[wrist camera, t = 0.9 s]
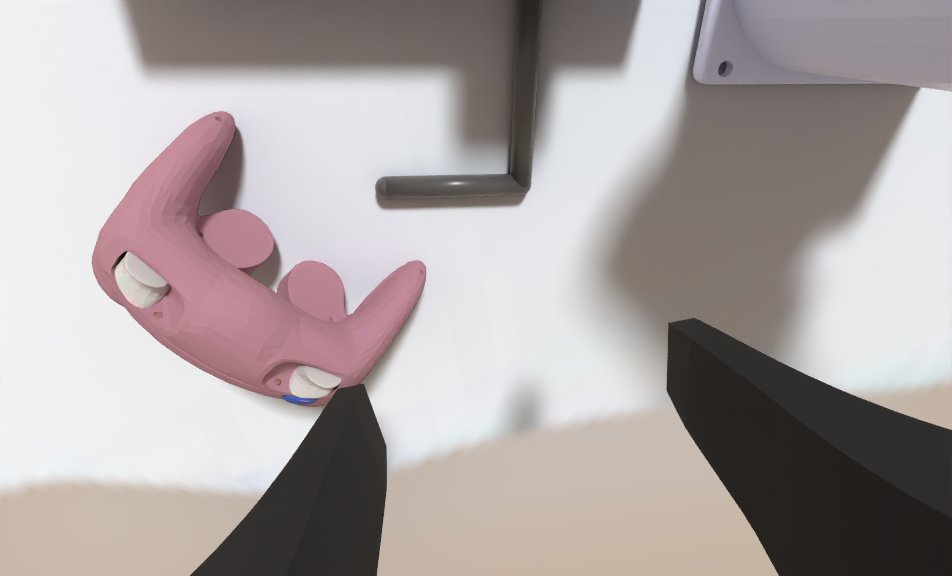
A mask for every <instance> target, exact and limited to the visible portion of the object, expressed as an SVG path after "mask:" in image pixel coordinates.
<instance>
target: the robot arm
mask: <svg viewBox="0 0 952 576" xmlns="http://www.w3.org/2000/svg"><path fill="white" fill-rule="evenodd" d="M724 61H725V62H726V64H727V68H726V70H725V72H724V73H723V74H722V75H719V74H718V68H719V66H720V64H721V63H723V62H724ZM693 75H694V78H695V80H697V81H698V82H699V83H704V84H899V85H907V86H915V87H923V88H930V89H938V90H946V91H952V0H707V1H706V6H705V11H704V16H703V21H702V26H701V31H700V36H699V41H698V47H697V52H696V57H695V62H694V67H693ZM667 392H668V394H669V396H670V398H671V400H672V402H673V404H674V406H675V408H676V411H677V412H678V414H679V416H680V418H681V420H682V422H683V424H684V426H685V428H686V429H687V431H688V432H689V434H690V435H691V437H692V438H693V440H694V441H695V443H696V444H697V446H698V447H699V449H700V450H701V452H702V453H703V455H704V456H705V458H706V459H707V461H708V462H709V464H710V465H711V467H712V468H713V470H714V471H715V472H716V474H717V475H718V477H719V478H720V480H721V481H722V483H723V484H724V486H725V487H726V489H727V490H728V492H729V493H730V495H731V496H732V497H733V499H734V500H735V502H736V503H737V505H738V506H739V508H740V509H741V511H742V512H743V514H744V515H745V517H746V518H747V520H748V522H749V523H750V525H751V527H752V528H753V530H754V531H755V533H756V535H757V536H758V538H759V540H760V542H761V544H762V545H763V548H764V549H765V551H766V553H767V555H768V556H769V558H770V560H771V562H772V564H773V565H774V567H775V569H776V571H777V573H778V575H779V576H952V430H949V429H946V428H943V427H940V426H936V425H934V424H931V423H928V422H924V421H921V420H918V419H916V418H913V417H910V416H907V415H904V414H901V413H898V412H895V411H893V410H890V409H887V408H885V407H882V406H879V405H877V404H874V403H872V402H869V401H867V400H864V399H861V398H859V397H856V396H854V395H851V394H849V393H846V392H844V391H842V390H839V389H837V388H835V387H832V386H830V385H828V384H826V383H824V382H821V381H819V380H817V379H815V378H812V377H810V376H808V375H806V374H804V373H801V372H799V371H797V370H795V369H793V368H791V367H789V366H787V365H785V364H783V363H781V362H779V361H777V360H775V359H773V358H771V357H769V356H767V355H765V354H763V353H761V352H759V351H757V350H755V349H753V348H751V347H750V346H748V345H746V344H744V343H742V342H740V341H738V340H736V339H734V338H733V337H731V336H729V335H727V334H725V333H723V332H721V331H719V330H717V329H716V328H714V327H712V326H710V325H708V324H706V323H704V322H702V321H700V320H698V319H695V318H692V319H687V320H682V321H677V322H672V323H669V327H668V362H667ZM386 489H387V455H386V444H385V441H384V438H383V436H382V433H381V430H380V427H379V425H378V422H377V419H376V416H375V414H374V411H373V408H372V405H371V403H370V400H369V397H368V394H367V392H366V389H365V386H364V384H359V385H354V386H349V387H344V388H339V389H337V391H336V392H335V394H334V395H333V396H332V398H331V399H330V401H329V402H328V404H327V405H326V407H325V408H324V410H323V411H322V413H321V414H320V416H319V418H318V419H317V421H316V422H315V424H314V425H313V427H312V428H311V430H310V431H309V433H308V434H307V436H306V437H305V439H304V440H303V441H302V443H301V444H300V446H299V447H298V449H297V450H296V452H295V453H294V454H293V456H292V457H291V459H290V460H289V462H288V463H287V464H286V466H285V467H284V469H283V470H282V471H281V473H280V474H279V475H278V476H277V478H276V479H275V480H274V482H273V483H272V484H271V486H270V487H269V488H268V490H267V491H266V492H265V494H264V495H263V496H262V497H261V499H260V500H259V501H258V502H257V504H256V505H255V506H254V507H253V509H252V510H251V511H250V512H249V513H248V514H247V516H246V517H245V518H244V519H243V520H242V521H241V522H240V524H239V525H238V526H237V527H236V528H235V529H234V530H233V531H232V533H231V534H230V535H229V536H228V537H227V538H226V539H225V540H224V541H223V543H222V544H221V545H220V546H219V547H218V548H217V549H216V550H215V551H214V552H213V553H212V554H211V555H210V556H209V557H208V558H207V559H206V560H205V561H204V562H203V563H202V564H201V565H200V566H199V567H198V568H197V569H196V570H195V571H194V572H193V573H192V574H191V575H190V576H377V567H378V560H379V551H380V542H381V534H382V525H383V517H384V508H385V498H386Z"/></svg>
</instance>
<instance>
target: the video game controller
mask: <svg viewBox="0 0 952 576" xmlns="http://www.w3.org/2000/svg"><path fill="white" fill-rule="evenodd" d="M234 132H235V121H234V118H233V117H232V115H231V114H229V113H227V112H223V111H220V112H214V113H211V114H209V115H206V116H204V117H203V118H201V119H199V120H198V121H196V122H194V123H193V124H191V125H190V126H188V127H187V128H186V129H185V130H184V131H183V132H182V133H181V134H180V135H179V136H178V137H177V138H176V139H175V140H174V141H173V142H172V143H171V144H170V145H169V146H168V147H167V148H166V149H165V150H164V151H163V152H162V153H161V154H160V155H159V156H158V157H157V158H156V159H155V160H154V161H153V162H152V163H151V164H150V165H149V166H148V167H147V168H146V169H145V170H144V171H143V173H142V174H141V175H140V176H139V177H138V178H137V179H136V181H135V182H134V183H133V184H132V186H131V188H130V189H129V191H128V192H127V194H126V195H125V197H124V198H123V199H122V201H121V202H120V203H119V205H118V206H117V207H116V209H115V210H114V211H113V213H112V214H111V215H110V217H109V218H108V220H107V221H106V223H105V224H104V226H103V227H102V229H101V230H100V233H99V236H98V239H97V242H96V246H95V249H94V252H93V256H92V267H93V272H94V275H95V277H96V279H97V281H98V283H99V285H100V287H101V288H102V289H103V291H104V292H105V293H106V294H107V295H108V296H109V297H110V298H111V299H112V300H113V301H115V302H116V303H118V304H120V305H121V306H123V307H125V308H126V309H127V311H128V312H129V313H130V314H131V316H132V317H133V318H134V319H135V320H136V321H137V322H138V323H139V324H140V325H141V326H142V327H143V328H144V329H145V330H146V331H148V332H149V333H150V334H151V335H152V336H153V337H154V338H155V339H156V340H157V341H159V342H160V343H161V344H163V345H164V346H165V347H167V348H168V349H170V350H171V351H172V352H174V353H175V354H177V355H178V356H180V357H181V358H182V359H184V360H186V361H187V362H189V363H191V364H193V365H194V366H196V367H198V368H199V369H201V370H203V371H205V372H207V373H209V374H211V375H213V376H215V377H217V378H219V379H221V380H224V381H226V382H228V383H230V384H232V385H235V386H238V387H241V388H244V389H246V390H249V391H252V392H256V393H259V394H262V395H265V396H270V397H275V398H281V399H284V400H286V401H288V402H291V403H294V404H298V405H300V406H307V407H317V406H323V405H326V404H328V402H329V401H330V399H331V398H332V396H333V395H334V394H335V392H336V391H337V389H339V388H344V387H349V386H354V385H359V384H360V383H361V382H362V381H363V379H364V378H365V377H366V376H367V375H368V374H369V372H370V371H371V370H372V369H373V367H374V366H375V365H376V363H377V362H378V361H379V359H380V358H381V357H382V355H383V354H384V352H385V351H386V350H387V348H388V347H389V345H390V344H391V342H392V341H393V339H394V338H395V336H396V335H397V333H398V332H399V330H400V329H401V327H402V326H403V324H404V322H405V321H406V319H407V317H408V316H409V314H410V313H411V311H412V309H413V308H414V306H415V304H416V303H417V301H418V299H419V297H420V295H421V293H422V291H423V287H424V284H425V281H426V267H425V265H424V264H423V263H422V262H421V261H417V260H415V261H411V262H408V263H407V264H405V265H404V266H402V267H400V268H398V269H397V270H395V271H394V272H393V273H392V274H390V275H389V276H388V277H387V278H386V279H384V280H383V281H382V282H381V283H380V284H379V285H378V286H377V287H376V288H375V289H374V290H373V291H372V292H371V293H370V294H369V295H368V296H367V297H366V298H365V300H364V301H363V302H362V303H361V304H360V306H359V307H358V308H357V309H356V310H355V312H354V313H352V314H350V315H348V316H347V315H346V313H345V308H344V288H343V283H342V281H341V278H340V277H339V276H338V274H337V273H336V272H335V271H334V270H333V269H331V268H330V267H329V266H327V265H325V264H323V263H320V262H316V261H304V262H301V263H299V264H297V265H296V266H295V267H294V268H293V269H292V270H291V271H290V272H289V273H288V274H287V275H286V276H285V277H284V278H283V279H282V280H281V281H280V283H279V286H278V288H277V293H275V292H274V291H272V290H271V289H269V288H268V287H266V286H264V285H263V284H261V283H260V282H258V281H256V280H255V279H253V278H252V277H250V276H248V275H249V274H250V273H252V272H253V271H254V270H255V269H256V268H257V267H258V266H260V265H261V264H262V263H263V262H264V261H265V260H266V259H267V258H268V257H269V256H270V255H271V253H272V251H273V248H274V240H273V236H272V234H271V232H270V230H269V228H268V227H267V225H266V224H265V223H264V222H263V221H262V220H261V219H259V218H258V217H257V216H255V215H254V214H252V213H250V212H248V211H245V210H241V209H230V210H225V211H221V212H218V213H215V214H212V215H207V216H202V217H200V216H199V215H198V213H197V209H198V205H199V202H200V199H201V196H202V194H203V192H204V189H205V188H206V186H207V184H208V183H209V181H210V180H211V178H212V176H213V175H214V173H215V172H216V170H217V168H218V166H219V165H220V163H221V161H222V159H223V157H224V156H225V153H226V151H227V149H228V147H229V145H230V143H231V141H232V138H233V136H234Z"/></svg>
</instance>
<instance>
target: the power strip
mask: <svg viewBox="0 0 952 576" xmlns="http://www.w3.org/2000/svg"><path fill="white" fill-rule="evenodd" d="M541 12H542V0H517V14H516V40H515V65H514V90H513V115H512V140H511V165H510V174H483V175H436V176H389V177H382V178H380V179H379V180H378V181H377V182H376V185H375V190H376V192H377V194H378V195H379V196H380V197H382V198H385V199H396V198H436V197H475V196H515V195H524V194H526V193H527V192H528V191H529V190H530V188H531V177H532V160H533V144H534V127H535V111H536V94H537V78H538V61H539V45H540V29H541Z"/></svg>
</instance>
